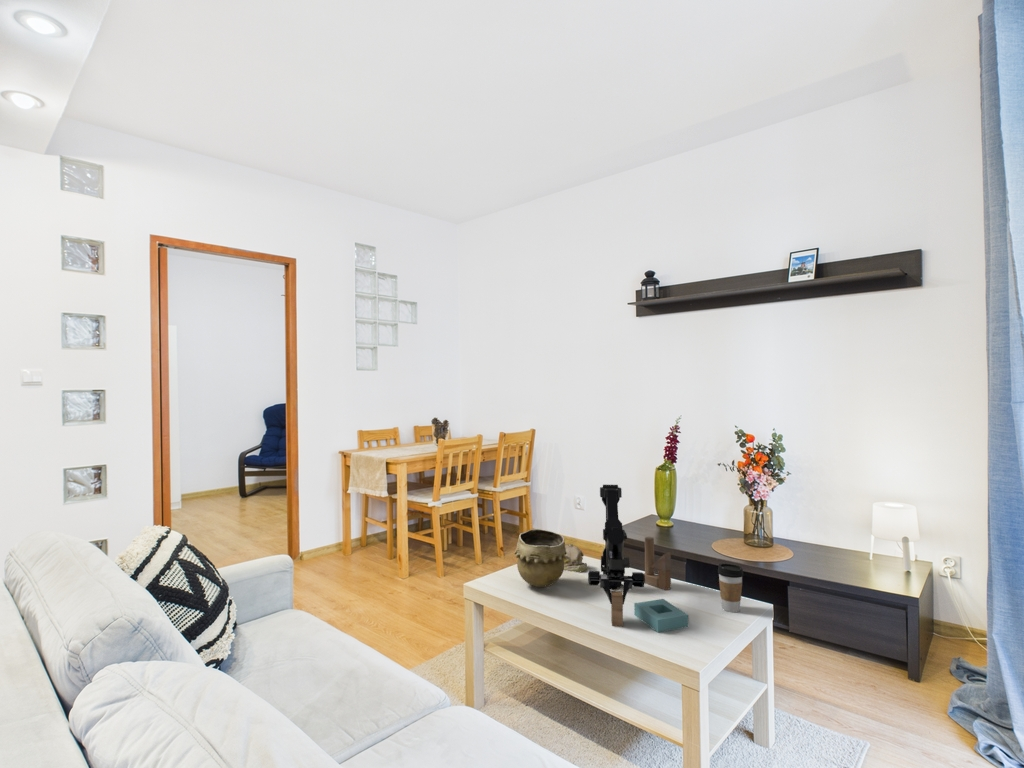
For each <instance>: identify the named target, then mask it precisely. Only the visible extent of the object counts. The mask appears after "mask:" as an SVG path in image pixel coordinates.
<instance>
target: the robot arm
mask: <svg viewBox="0 0 1024 768" xmlns="http://www.w3.org/2000/svg"><path fill="white" fill-rule="evenodd" d="M622 491H623V490H622V487H619V484H602V486H601V487H599V496H600V498H601V501H602V503H603V505H604V507H605V522H604V528H603V529H602V539H603V541H605V543H606V544H605V546H604V548H603V550H602V555H601V556H600V570H589V571H588V572H587V584H588V586H598V585H600V586H599V587H600V588H601V589H603V591H604V592H605V595H606V596H607V599H608V601H609V605H611V604H612V596H611V591H616V590H617V589H620V588H622V595H623V606H624V605H625V601H626V598H627V595H628V592H629V591H630V590H632V589H633V587H634V588H644V587H645V584H646V583H645V575H644V572H637V571H632V572H631V575H625V574H626V570H625V569H630V567H631V566H630V557H624V543H625V541H626V540H628V535H627V532H626V530H625V529H624V528H623V523H622V522H621V520H620V519H619V510H618V509H619V508H618V507H619V506H618V505H619V504H618V503H619V502H620V498H623V497H622V494H623V493H622ZM601 573H602V574H601Z"/></svg>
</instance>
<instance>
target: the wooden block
mask: <svg viewBox="0 0 1024 768" xmlns="http://www.w3.org/2000/svg"><path fill="white" fill-rule="evenodd" d="M671 554H672V553H671V551H669V552H666V553H664V554H663V555H662V556H660V558H658V559H657V560H656V561H655V538H654V537H652V536H645V537H644V572H643V574H644V575H645V583H644V584H646V585H650V586H653V587H655V588H658V589H660V588H661V590H663V589H664V591H667V590H670V589H671V588H672V573H671V572H672V571H671V569H672V555H671ZM655 570H658V571H657V574H656V573H655Z"/></svg>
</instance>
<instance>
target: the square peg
mask: <svg viewBox="0 0 1024 768" xmlns="http://www.w3.org/2000/svg"><path fill="white" fill-rule="evenodd" d="M611 596H612V604H610V607H611V609H610V610H611V611H610V612H611V616H610V617H611V627H624V608H623V607H624V605H623V590H622V591H621V590H620V591H619V590H611Z"/></svg>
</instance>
